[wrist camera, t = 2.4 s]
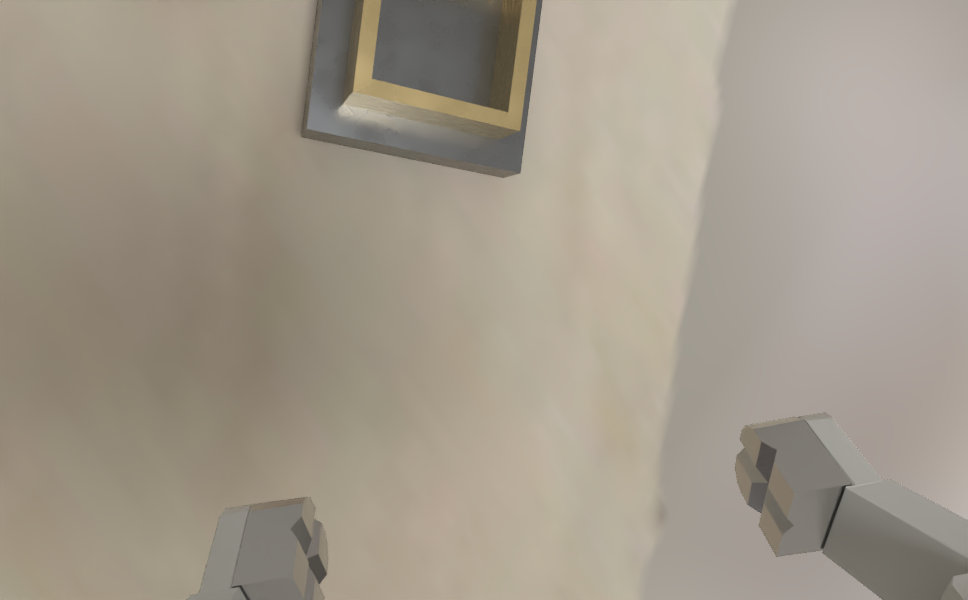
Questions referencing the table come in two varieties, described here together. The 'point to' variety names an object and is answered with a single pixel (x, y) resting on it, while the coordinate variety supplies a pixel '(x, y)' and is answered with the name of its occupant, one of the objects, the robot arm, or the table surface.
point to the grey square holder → (425, 79)
